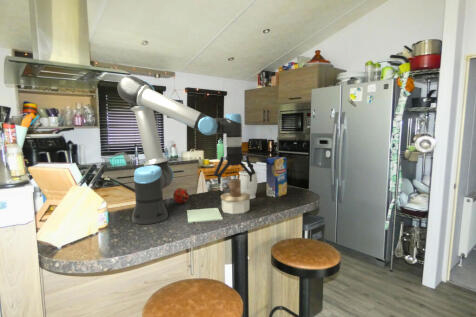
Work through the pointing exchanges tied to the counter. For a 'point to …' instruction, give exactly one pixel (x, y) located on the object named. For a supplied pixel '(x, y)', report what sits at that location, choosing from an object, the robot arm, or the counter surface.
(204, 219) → the mat
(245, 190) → the jar
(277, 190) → the blue food box
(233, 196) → the lid
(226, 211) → the bowl
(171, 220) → the counter surface
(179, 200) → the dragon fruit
